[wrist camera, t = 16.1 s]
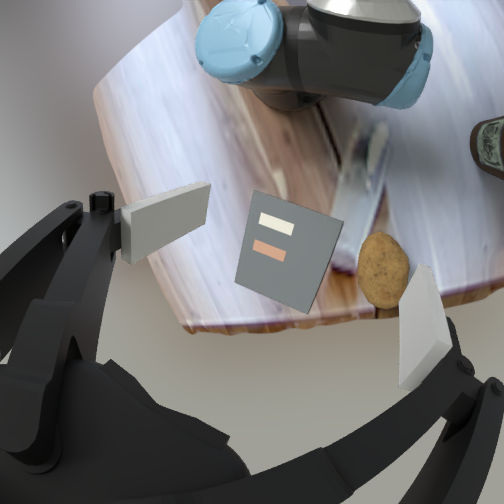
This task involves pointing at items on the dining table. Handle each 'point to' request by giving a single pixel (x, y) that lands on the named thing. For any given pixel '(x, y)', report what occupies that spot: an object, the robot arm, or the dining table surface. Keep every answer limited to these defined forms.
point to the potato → (382, 270)
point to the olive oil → (489, 146)
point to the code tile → (285, 250)
